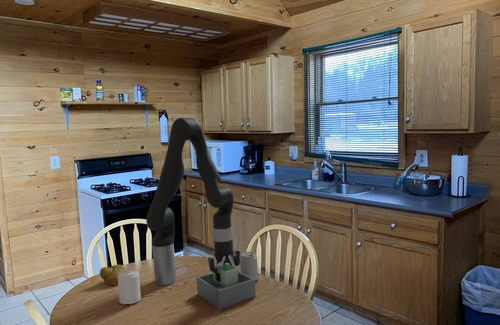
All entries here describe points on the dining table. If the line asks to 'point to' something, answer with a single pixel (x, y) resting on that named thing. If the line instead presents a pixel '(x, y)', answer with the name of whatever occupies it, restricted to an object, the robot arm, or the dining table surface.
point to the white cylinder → (129, 286)
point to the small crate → (228, 275)
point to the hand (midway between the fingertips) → (225, 278)
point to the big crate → (225, 290)
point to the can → (249, 264)
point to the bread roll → (111, 274)
